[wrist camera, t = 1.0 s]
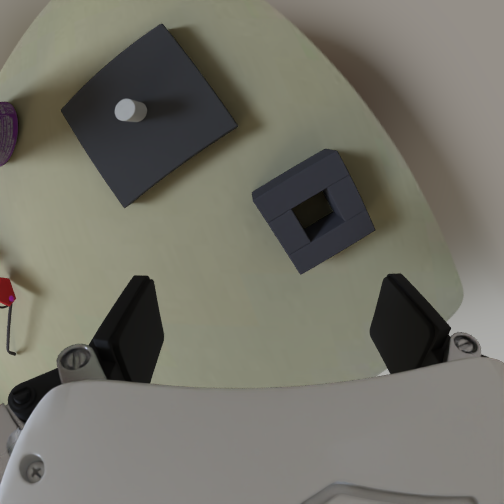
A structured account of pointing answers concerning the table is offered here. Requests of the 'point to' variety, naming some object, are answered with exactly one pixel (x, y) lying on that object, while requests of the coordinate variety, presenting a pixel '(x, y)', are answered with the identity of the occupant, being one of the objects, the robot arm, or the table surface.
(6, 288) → the glasses
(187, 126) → the black base pad
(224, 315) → the table surface
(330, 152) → the dark grey socket block
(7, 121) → the beverage can
